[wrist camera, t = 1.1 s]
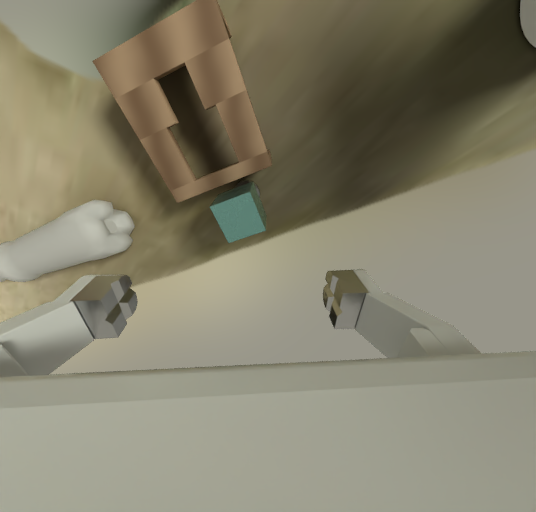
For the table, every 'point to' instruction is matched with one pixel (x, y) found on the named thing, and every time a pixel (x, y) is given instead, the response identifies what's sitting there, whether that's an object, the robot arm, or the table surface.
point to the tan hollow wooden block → (206, 83)
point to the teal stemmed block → (240, 211)
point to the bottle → (67, 241)
